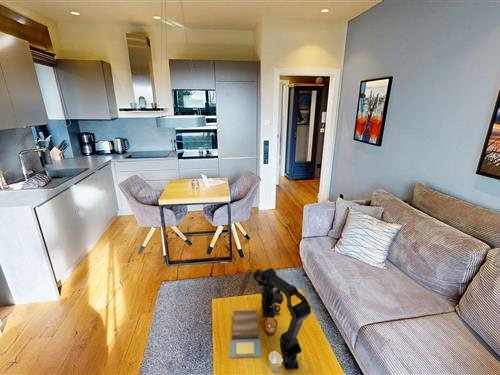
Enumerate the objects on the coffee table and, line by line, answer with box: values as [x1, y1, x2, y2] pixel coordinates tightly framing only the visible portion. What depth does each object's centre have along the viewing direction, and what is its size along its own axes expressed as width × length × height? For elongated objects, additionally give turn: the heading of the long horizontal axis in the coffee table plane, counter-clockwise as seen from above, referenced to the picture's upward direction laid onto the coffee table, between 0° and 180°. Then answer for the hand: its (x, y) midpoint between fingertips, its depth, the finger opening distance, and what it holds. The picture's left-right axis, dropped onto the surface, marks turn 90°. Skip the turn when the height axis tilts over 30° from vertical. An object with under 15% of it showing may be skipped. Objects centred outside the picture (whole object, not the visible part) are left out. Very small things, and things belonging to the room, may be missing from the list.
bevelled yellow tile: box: [236, 342, 254, 357], centre depth 125 cm, size 6×9×2 cm, turn 91°
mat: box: [229, 338, 263, 359], centre depth 127 cm, size 10×16×1 cm, turn 91°
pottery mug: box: [272, 303, 282, 314], centre depth 149 cm, size 12×10×8 cm
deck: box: [231, 309, 259, 340], centre depth 139 cm, size 16×14×4 cm
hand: (267, 314), depth 133 cm, fingers closed
